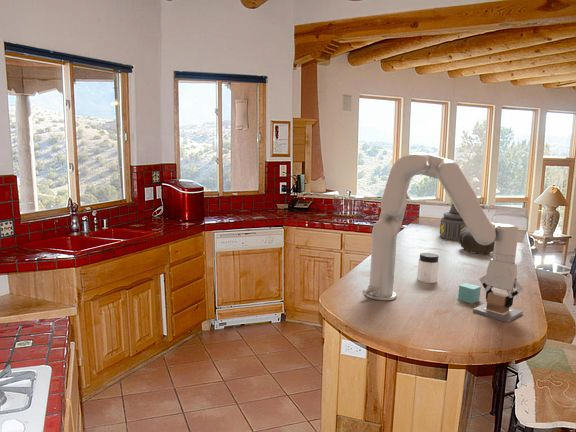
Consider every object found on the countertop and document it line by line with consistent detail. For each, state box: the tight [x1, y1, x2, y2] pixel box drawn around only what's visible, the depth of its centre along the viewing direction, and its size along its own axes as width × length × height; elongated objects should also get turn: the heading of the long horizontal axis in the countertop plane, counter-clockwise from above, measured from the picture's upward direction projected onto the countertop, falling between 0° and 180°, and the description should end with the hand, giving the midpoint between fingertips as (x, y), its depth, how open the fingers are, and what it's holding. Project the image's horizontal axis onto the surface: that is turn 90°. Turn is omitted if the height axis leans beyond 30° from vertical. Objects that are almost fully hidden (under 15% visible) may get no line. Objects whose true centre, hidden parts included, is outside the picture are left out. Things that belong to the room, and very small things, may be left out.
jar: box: [416, 252, 440, 284], centre depth 218 cm, size 9×8×12 cm
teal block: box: [457, 282, 482, 304], centre depth 193 cm, size 6×6×6 cm
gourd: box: [458, 227, 495, 256], centre depth 278 cm, size 25×25×17 cm
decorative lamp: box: [439, 198, 467, 241], centre depth 315 cm, size 19×19×30 cm
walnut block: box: [486, 290, 511, 313], centre depth 180 cm, size 6×6×6 cm
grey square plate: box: [472, 302, 524, 323], centre depth 180 cm, size 13×13×1 cm
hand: (498, 303), depth 180 cm, fingers open, 6 cm apart
